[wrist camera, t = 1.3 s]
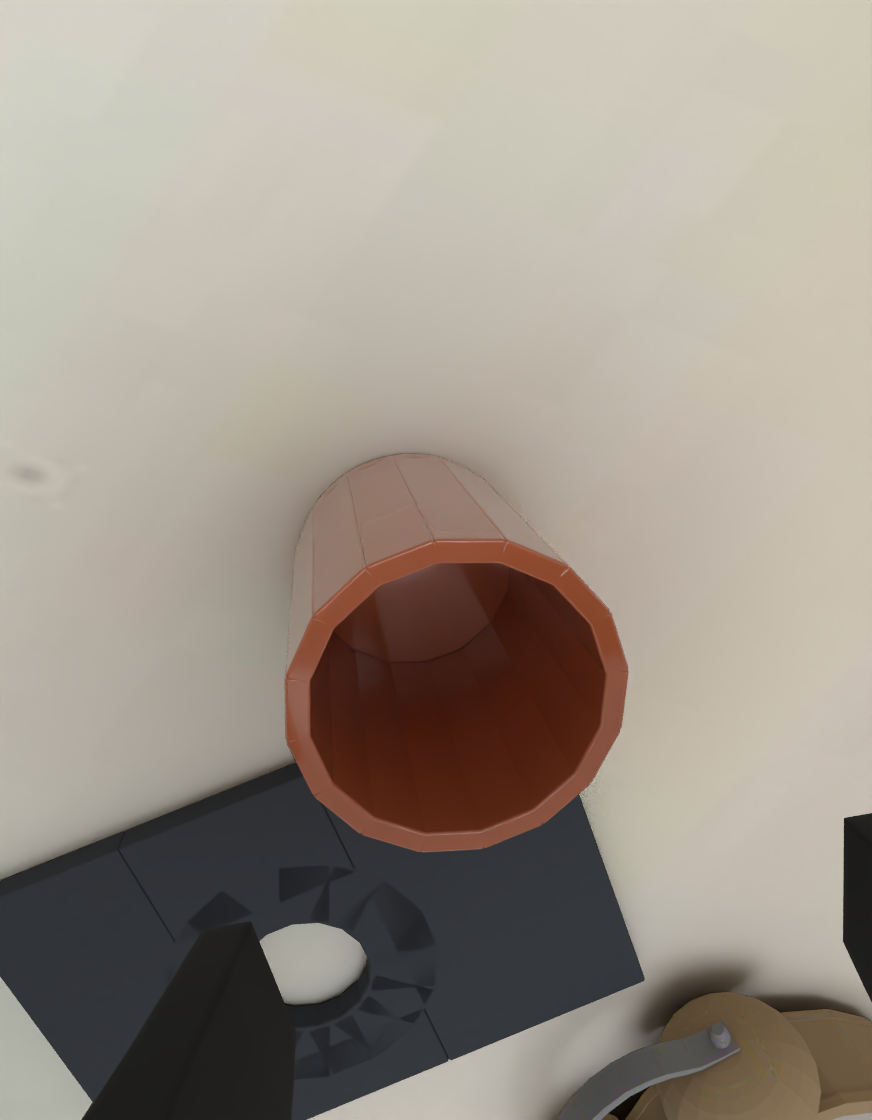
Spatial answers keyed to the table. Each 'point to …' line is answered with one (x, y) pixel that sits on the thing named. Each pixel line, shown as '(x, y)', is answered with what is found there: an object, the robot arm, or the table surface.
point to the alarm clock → (740, 1067)
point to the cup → (443, 661)
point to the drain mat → (328, 898)
